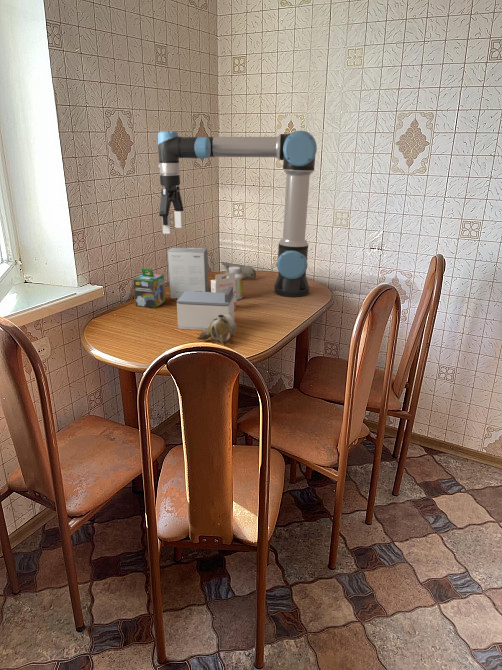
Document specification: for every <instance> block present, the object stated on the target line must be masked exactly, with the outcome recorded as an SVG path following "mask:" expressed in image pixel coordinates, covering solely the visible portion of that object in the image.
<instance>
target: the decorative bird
mask: <svg viewBox="0 0 502 670" xmlns="http://www.w3.org/2000/svg"><path fill="white" fill-rule="evenodd" d="M220 264H221V265H222V266H223V269H224V272H225V273H224V272H223V271H221V272H222V273H221V272H219V274H226V273H229V267H240V273H241V274H242V276H243V279H247V278H250V279H253V280H254V281H256V280H257V279H256V277H257V272H256V270H255V269H254V267H252V266H249V265H247V266H246V265H242V264H239V263H238V264H237V263H230V262H227V261H226V262H225V261H222V260H221V262H220ZM222 278H223V279H224V277H222Z"/></svg>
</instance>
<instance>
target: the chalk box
mask: <svg viewBox="0 0 502 670" xmlns="http://www.w3.org/2000/svg"><path fill="white" fill-rule="evenodd" d="M141 273H142V274H139V275H137V276H135V277H134V278H133V279H132V282H133V293H134V302H135V307H144V308H151V309H156V308H157V307H159V306H161V305H162V304H165V302H166V301H167V297H166V296H167V295H166V287H165V274H162V273H154V270H153V268H146V267H145V268H144V267H143V268H142V267H141Z"/></svg>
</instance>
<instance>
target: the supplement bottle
mask: <svg viewBox="0 0 502 670" xmlns="http://www.w3.org/2000/svg"><path fill="white" fill-rule="evenodd" d="M229 273H235V281H236V301H237V300H241V299H243V297H244V295H243V294H244V293H243V292H244V288H243V286H244V285H243V284H244V282H243V281H244V280H243V276H242V274H241V273H240V267H229ZM226 278H229V277H228V276H226Z"/></svg>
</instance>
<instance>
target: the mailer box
mask: <svg viewBox="0 0 502 670" xmlns="http://www.w3.org/2000/svg"><path fill="white" fill-rule="evenodd" d="M176 311H177V313H176V314H177V329H179V330H181V329H182V330H194V331H195V330H196V331H197V330H198V331H199V330H200V331H203V330H204V329H207V328H208V327H209V324H210V323H211V322H212V321H213V320H214V319H216V317H217V316H218V315H225V314H227V313H228V312H230V313H231V315H232V316H233V318H234V319H235V309H234V296H233V298H232V300H231V302H230V304H229V306H224V305H203V304H182V303H177V302H176Z"/></svg>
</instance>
